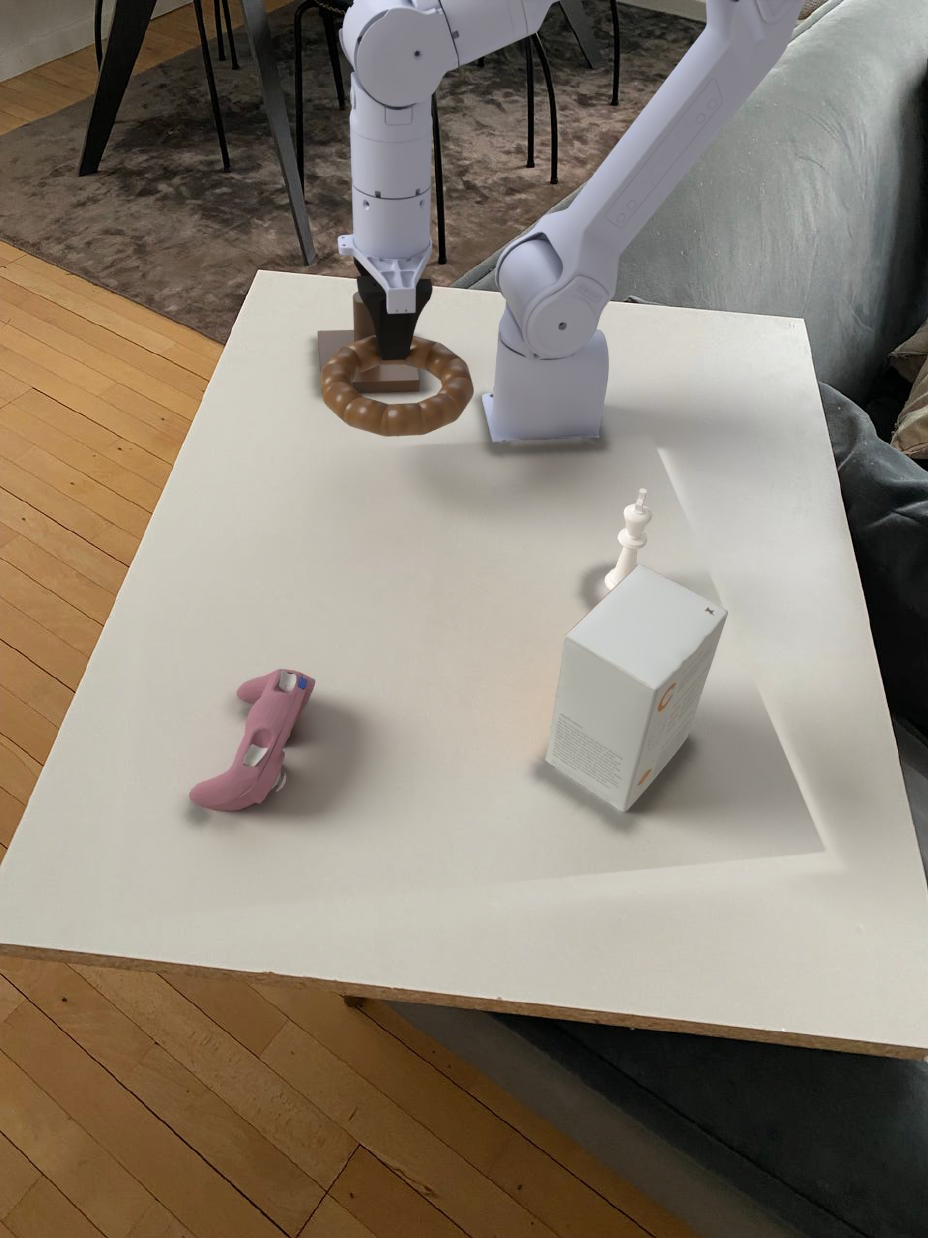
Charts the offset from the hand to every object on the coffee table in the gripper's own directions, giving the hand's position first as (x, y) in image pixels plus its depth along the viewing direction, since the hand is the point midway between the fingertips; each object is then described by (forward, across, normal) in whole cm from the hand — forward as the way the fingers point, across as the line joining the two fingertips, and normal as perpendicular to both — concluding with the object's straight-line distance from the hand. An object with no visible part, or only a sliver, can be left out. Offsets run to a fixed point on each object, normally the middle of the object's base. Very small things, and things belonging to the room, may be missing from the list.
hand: (392, 347), depth 85 cm
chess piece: (+9, +21, +15) cm, 27 cm away
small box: (+9, +36, +11) cm, 39 cm away
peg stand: (+9, -11, -1) cm, 14 cm away
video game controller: (+9, +34, -12) cm, 37 cm away
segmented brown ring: (0, +5, 0) cm, 5 cm away
